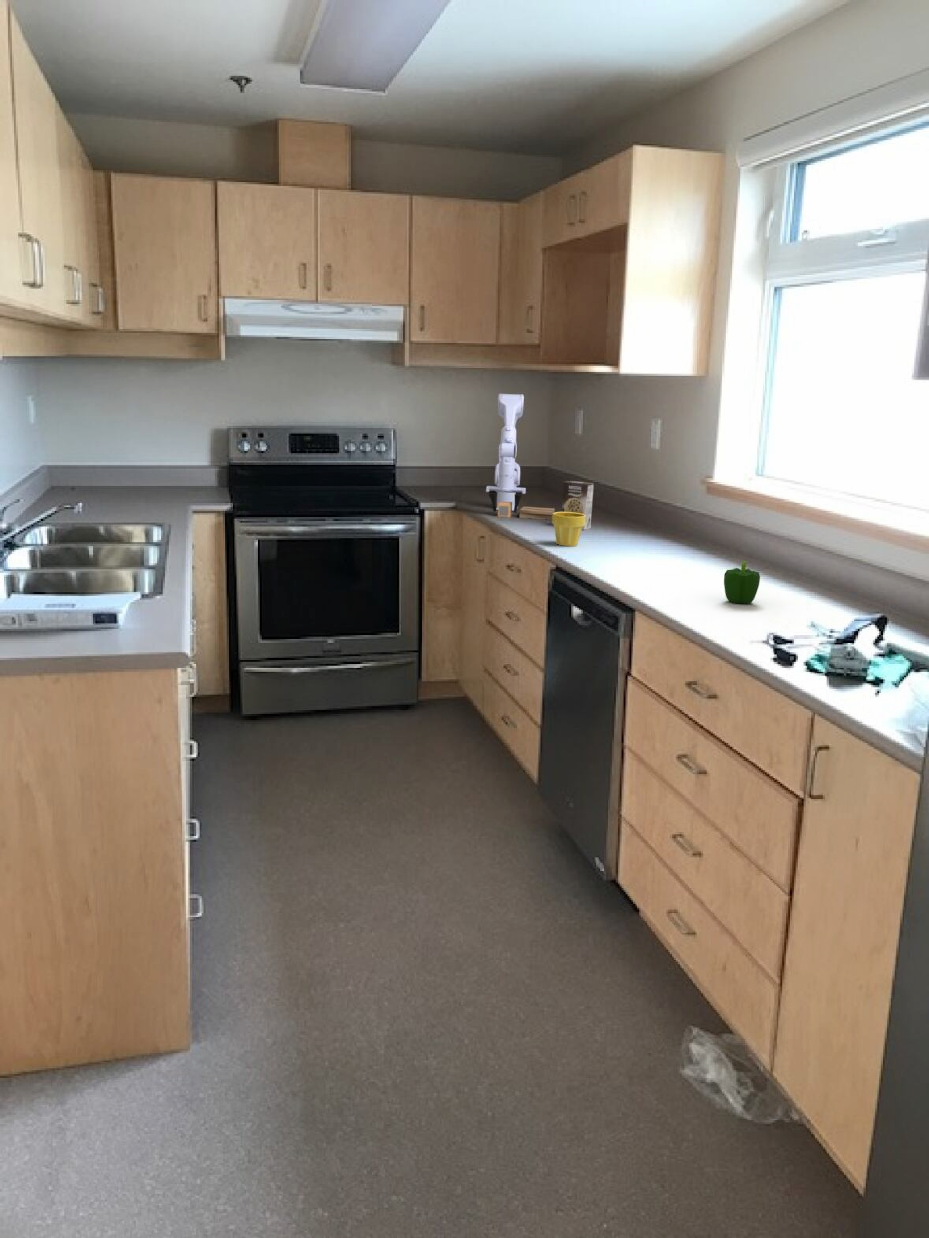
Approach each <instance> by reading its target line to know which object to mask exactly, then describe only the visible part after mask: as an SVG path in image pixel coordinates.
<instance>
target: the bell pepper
mask: <svg viewBox="0 0 929 1238" xmlns="http://www.w3.org/2000/svg"><path fill="white" fill-rule="evenodd" d="M723 575H724V576H723V577H724V578H723V586H724V595H725V597H726V599H727V601H728V602H731V603H733V604H747V605H748V604H752V603H753V602H754V600H755V599H756V595H757V593H758V590H759V586H760V582H761V581H760V580H761V575H760V572H759V571H755V570H752V569H750V568H747V561H746V560H743V561H742V563H741V569H740V568H738V567H735V568H733V569H727V570H726V571H725V573H724V574H723Z"/></svg>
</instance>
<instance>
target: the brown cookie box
mask: <svg viewBox="0 0 929 1238" xmlns="http://www.w3.org/2000/svg"><path fill="white" fill-rule="evenodd" d="M594 484H595V483H594V482H588V481H586V482H585V481H580V480H579V481H577V480H565V481H564V482H563V494H562V505H561V507H562V510H561V512H575V513H581V514H584V515H585V525H584V526H583V527H582V530H581V531H586V530H589V529H591V526H592V525H591V524H592V511H593V497H594Z"/></svg>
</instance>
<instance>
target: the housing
mask: <svg viewBox="0 0 929 1238" xmlns="http://www.w3.org/2000/svg"><path fill="white" fill-rule="evenodd" d="M512 515H513V511H512V502H499V503H498V510H497V517H499V518H500V517H502V518H503V517H504V518H511V517H512Z"/></svg>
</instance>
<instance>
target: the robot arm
mask: <svg viewBox="0 0 929 1238" xmlns="http://www.w3.org/2000/svg"><path fill="white" fill-rule="evenodd" d="M524 399H525V395H524V394H522V393H521V394H514V393H513V394H511V393H510V394H509V393H500V392H499V393H498V395H497V413H498V417H501V418H502V420H503V423H504V426H503V427H502V428H501V430H500V443H499V445H498V463H497V464H496V465H495V469H494V485H495V486H493V485H487V486H486V489H485V492H486V493H488V497H489V498H490V500H491V501H490V502H491V504H492V508H493V510H492V511H493V512H495V513H496V512H497V511H498V503H499V502H512V512H513V513H514V514H517V511H518V508H519V504H520V502H521V499H522V497H523V495H525V494H526V492H527V491H526V489H527V488H526V487H519V486H520V485H521V483H520V481H521V466H520V464H518V463H517V462H516V457H517V453H518V452H517V448H518V446H517V445H518V444H517V428H516V424H517V421H518V419H520V418H521V417H523V412H524V403H525V402H524Z"/></svg>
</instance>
